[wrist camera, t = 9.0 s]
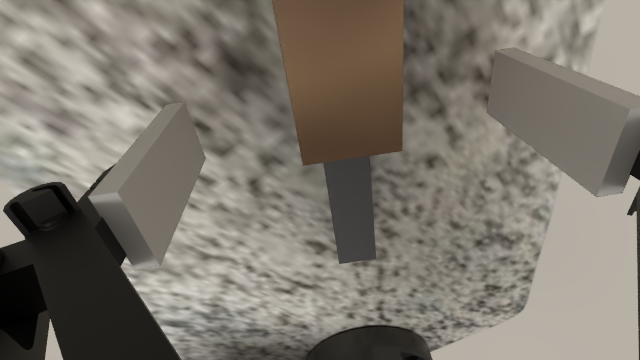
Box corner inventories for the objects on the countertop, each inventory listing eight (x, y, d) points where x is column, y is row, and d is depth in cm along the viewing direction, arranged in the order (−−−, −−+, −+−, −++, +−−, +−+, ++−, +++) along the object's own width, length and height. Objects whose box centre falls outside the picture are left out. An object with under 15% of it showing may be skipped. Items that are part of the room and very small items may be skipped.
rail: (367, 227, 29) (375, 258, 26) (334, 232, 29) (339, 263, 26) (349, 4, 19) (360, 14, 16) (300, 12, 19) (301, 24, 16)
